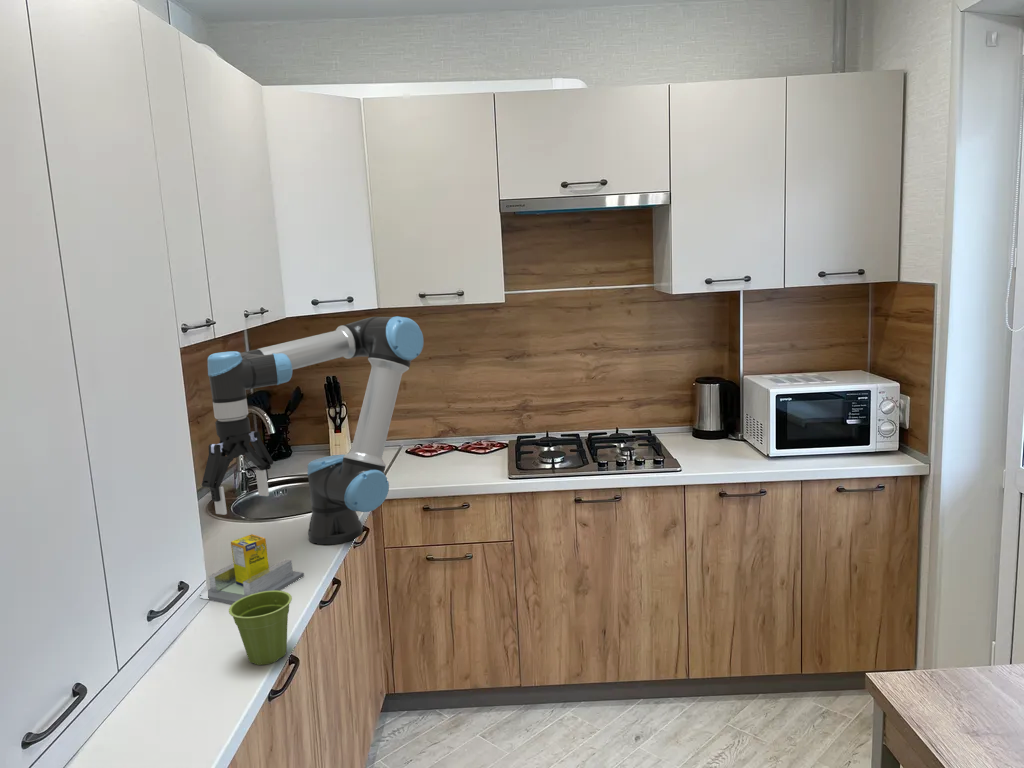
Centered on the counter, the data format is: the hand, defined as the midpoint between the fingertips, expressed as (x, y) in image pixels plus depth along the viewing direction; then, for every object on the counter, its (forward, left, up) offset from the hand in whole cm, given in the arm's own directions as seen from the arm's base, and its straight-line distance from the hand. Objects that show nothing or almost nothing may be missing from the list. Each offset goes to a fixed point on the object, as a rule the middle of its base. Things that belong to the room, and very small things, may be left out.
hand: (243, 504), depth 178 cm
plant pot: (+24, +28, -21) cm, 43 cm away
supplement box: (0, 0, -20) cm, 20 cm away
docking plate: (0, 0, -21) cm, 21 cm away
